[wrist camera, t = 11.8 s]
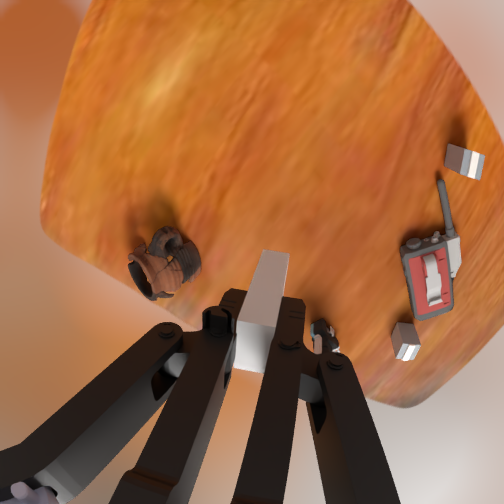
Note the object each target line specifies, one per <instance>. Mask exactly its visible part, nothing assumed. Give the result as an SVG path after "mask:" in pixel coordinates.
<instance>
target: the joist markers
mask: <svg viewBox="0 0 504 504" xmlns="http://www.w3.org/2000/svg"><path fill="white" fill-rule="evenodd" d="M484 158H485V155H482V154H479V153H476V152H473V151H471V150H468V149H465V148H461V147H458V146H455V145H452V144H449V143H448V146H447V152H446V157H445V163H444V166H445V167H447V168H449V169H451V170H453V171H455V172H457V173H459V174H462V175H465V176H468V177H471V178H474V179H478V180H480V178H481V173H482V168H483V163H484ZM391 340H392V344H393V349H394V353H395V357H396V359H402V360H403V361H408V360H414V358H415V356H416V354H417V352H418V350H419V348H420V346H421V344H420V341H419V338H418V335H417V332H416V329H415V326H414V324H409V323H400V322H397V323H396V326H395V328H394V330H393V333H392V335H391Z"/></svg>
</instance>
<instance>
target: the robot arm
mask: <svg viewBox="0 0 504 504" xmlns="http://www.w3.org/2000/svg"><path fill="white" fill-rule="evenodd" d="M289 255H290V253H284V252H277V251H271V250H265V249H263V252H262V254H261V257H260V260H259V262H258V265H257V268H256V271H255V273H254V276H253V279H252V281H251V284H250V287H249V289H248V291H244V290H239V289H233V288H231V289H229V290H228V291H227V292H225V293H224V295H223V297H222V300H221V301H220V304H219V306H212V307H209V308H207V309H205V310H204V311H203V312H202V322H203V328H202V330H199V331H194V332H183V330H182V328H181V327H180V326H179V325H177V324H175V323H172V322H163V323H159V324H157V325H156V326H154V327H153V328H152V329H151V330H149V331H148V332H147V333H146V334H145V335H144V336H143V337H141V338H140V339H139V340H138V341H137V342H136V343H135V344H133V345H132V346H131V347H130V348H129V349H128V350H127V351H125V352H124V353H123V354H122V355H121V356H119V357H118V358H117V359H116V360H115V361H114V362H113V363H111V364H110V365H109V366H108V367H107V368H106V369H105V370H103V371H102V372H101V373H100V374H99V375H98V376H96V377H95V378H94V379H93V380H92V381H91V382H90V383H89V384H87V385H86V386H85V387H84V388H83V389H82V390H81V391H79V392H78V393H77V394H76V395H75V396H74V397H73V398H71V399H70V400H69V401H68V402H67V403H66V404H65V405H64V406H62V407H61V408H60V409H59V410H58V411H57V412H55V414H53V415H52V416H51V417H50V418H49V419H47V420H46V421H45V422H44V423H43V424H42V425H41V426H40V427H39V428H37V429H36V430H35V431H34V432H33V433H32V434H30V435H29V436H28V437H27V438H26V439H25V440H24V441H23V442H21V443H20V444H18V445H15V446H13V447H10V448H7V449H5V450H2V451H0V504H66V503H68V502H69V501H71V500H72V499H74V498H75V497H76V496H77V495H78V494H80V493H81V492H82V491H83V490H84V489H85V488H86V487H87V486H88V485H89V484H90V483H91V482H92V480H94V478H95V477H96V476H97V475H98V474H99V473H100V472H101V471H102V470H103V469H104V468H105V467H106V466H107V464H109V462H110V461H111V460H112V459H113V458H114V457H115V456H116V455H117V454H118V453H119V452H120V451H121V450H122V449H123V447H124V446H125V445H126V444H127V443H128V442H129V441H130V440H131V439H132V438H133V437H134V435H135V434H136V433H137V432H138V431H139V430H140V429H141V427H143V425H144V424H145V423H146V422H147V421H148V420H149V419H150V418H151V417H152V416H153V414H154V413H155V412H156V411H157V410H158V409H159V408H160V407H161V405H162V404H163V403H164V402H165V401H166V400H167V401H166V403H165V405H164V408H163V410H162V412H161V414H160V416H159V418H158V420H157V422H156V424H155V426H154V428H153V430H152V432H151V434H150V436H149V438H148V440H147V443H146V445H145V447H144V449H143V451H142V453H141V455H140V457H139V459H138V461H137V463H136V465H135V467H134V468H133V469H131V470H128V471H126V472H125V473H124V475H123V476H122V478H121V480H120V481H119V484H118V486H117V488H116V490H115V492H114V494H113V496H112V498H111V500H110V502H109V504H188V502H189V499H190V496H191V494H192V491H193V488H194V485H195V482H196V479H197V476H198V473H199V470H200V468H201V465H202V462H203V459H204V456H205V453H206V450H207V447H208V444H209V441H210V438H211V435H212V433H213V430H214V427H215V423H216V420H217V418H218V415H219V412H220V408H221V406H222V403H223V400H224V397H225V394H226V391H227V388H228V384H229V381H230V378H231V370H232V366H233V363H234V368H238V369H243V370H249V371H254V372H259V373H264V377H263V380H262V385H261V389H260V393H259V397H258V402H257V406H256V410H255V414H254V418H253V422H252V426H251V430H250V434H249V438H248V442H247V446H246V450H245V454H244V458H243V462H242V465H241V469H240V473H239V477H238V481H237V484H236V488H235V492H234V495H233V498H232V501H231V503H230V504H283V500H284V493H285V487H286V481H287V476H288V469H289V463H290V457H291V450H292V442H293V435H294V428H295V421H296V413H297V412H296V411H297V405H298V404H297V403H298V398H299V399H302V400H304V401H306V406H307V411H308V416H309V421H310V426H311V431H312V435H313V440H314V445H315V450H316V455H317V460H318V465H319V470H320V474H321V480H322V485H323V490H324V496H325V501H326V504H401V503H400V500H399V497H398V493H397V490H396V487H395V484H394V481H393V478H392V474H391V471H390V468H389V465H388V463H387V460H386V456H385V453H384V451H383V447H382V445H381V442H380V439H379V436H378V433H377V430H376V427H375V424H374V422H373V419H372V416H371V413H370V411H369V408H368V405H367V402H366V400H365V397H364V394H363V391H362V389H361V386H360V383H359V381H358V378H357V376H356V373H355V370H354V368H353V365H352V363H351V361H350V359H349V358H348V357H347V356H345V355H344V354H341V353H339V352H327V353H325V354H323V355H322V356H320V355H317V354H315V353H313V352H311V351H310V350H308V349H307V348H306V347H305V345H304V343H303V333H304V322H305V310H306V306H305V304H304V302H303V300H302V299H296V298H290V297H284V296H283V293H284V287H285V281H286V275H287V268H288V262H289Z"/></svg>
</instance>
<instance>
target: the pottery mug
mask: <svg viewBox="0 0 504 504" xmlns="http://www.w3.org/2000/svg"><path fill="white" fill-rule="evenodd" d="M146 251H147V249H146V245H145V243H142V244H140V245H139V246H138V247H137V248H135V250H134V252H133V253H130V254H129V255H128V259H129V261H131V260H133V262H131V263H129V264H128V268H129V271H130V274H131V276H132V278H133V280H134V282H135V283H136V285H137V287H138V289H139V290H140V291H141V292H142V294H143V295H144V296H145V297H146V298H148V299H149V300H151V301H155V300H157V298H158V297H159V298H171V297H173V296H174V294H168V293H166V292H175V291H176V290H178V289H179V288H180V287H181V284H183V283H185V282H186V281H187V280H188V279H189V282H190V283H191V282H193V281H194V279H195V278H196V277H197V276H198V275H199V274H200V271H201V261H200V256H199V253H198V251H197V249H196V248H195V246H194V244H193V243H192V242H191V241H189V242H188V243H185V244H183V240H182V238H181V236H180V234H179V231H178V230H177V229H175V228H174V227H171V226H166V227H163V228H161V229H159V230H158V231H157V232H156V233H155V234H154V236H153V238H152V242H151V243H150V245H149V246H148V251H149V252H150V253H146ZM169 255H170V256H173V259H172V260H171V261H170V262H168V259H167V257H168V256H169ZM143 270H144V272H145V273H146V275H147V277H148V279H149V281H150V283H151V284H150V283H149V282H148V281H147V277H146V275H145V273H144V272H143ZM164 291H166V292H164Z"/></svg>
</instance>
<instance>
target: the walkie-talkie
mask: <svg viewBox="0 0 504 504" xmlns="http://www.w3.org/2000/svg"><path fill="white" fill-rule="evenodd" d="M437 185H438V189H439V194H440V199H441V204H442V209H443V214H444V220H445V226H446V228H445V232H446V234H445V235H442V236H441V235H440V233H439V231H436V232H434V235H433V236H431V237H428V238H425V239H422V240H420V239H419V238H411V239H409V240H408V241H407V242H406V245H403V246H401V248H400V253H401V255H400V256H401V261H402V263H403V270H404V274H405V277H406V281H407V287H408V292H409V298H410V304H411V310H412V312H413V315H414V318H416V319H418V320H419V321H423V320H426V319H429V318H432V317H435V316H438V315H441V314H444V313H447V312H449V311H451V310H452V309H453V306H454V298H453V285H452V283H453V280H454V277H455V276H456V275H455V274H456V272H457V270H458V268H459V266H460V264H461V252H460V236H459V235H458V234H457V233H456V232H455V231H454V227H453V224H452V218H451V212H450V207H449V202H448V196H447V192H446V187H445V182H444V180H442V179H439V180H438V181H437Z"/></svg>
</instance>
